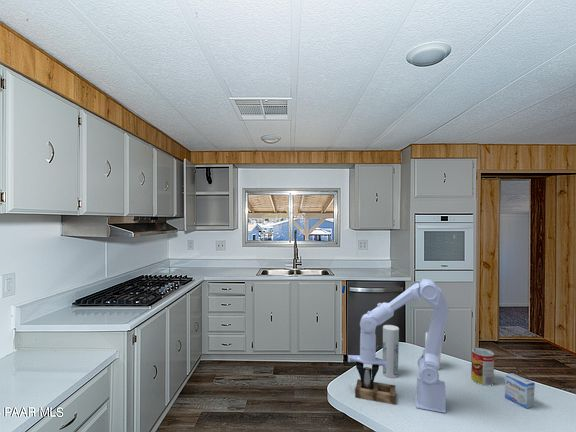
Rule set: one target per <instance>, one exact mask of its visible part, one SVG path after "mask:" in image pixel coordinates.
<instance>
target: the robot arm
mask: <svg viewBox="0 0 576 432" xmlns="http://www.w3.org/2000/svg"><path fill="white" fill-rule="evenodd" d="M421 298H422V299H423V300H424V301H426V302H427V303H429V305H430V306H431V307H432V313H431V318H430V321H429V326H428V327H429V328H428V331H427V332H428V336H427V340H426V345H424V349H423V350H422V355H421V356H420V357H419V358H418V361H417V367H418V370H419V373H418V374H416V395H414V400H415V408H416V409H422V410H427V411H432V412H438V413H445V414H446V411H447V410H446V409H447V407H446V404H447V398H446V397H447V390H446V388H447V387H446V382H445V381H443V380H441V379H440V373H439V370H438V357H439V352H440V347H441V343H442V344H443V337H444V333H445V329H446V323H447V321H448V320H447V319H448V314H449V309H450V307H449V304H448V302H447V300H446V297H445V296H444V293H443V292H442V290H441V288H440V286H439V285H437V284H436V282H435V281H434V280H433V279H430V278H422V279H421V280H420V281H419V282H416V283H414V284H413V285H411V286H410V287H408V288H406V289H405V290H404V291H403V292H401V293H400V294H399V295H397V296H396V297H395V298H394V299H392V300H391V301H390V302H378V303H377V306H376V307H375V308H374V309H372V310H368V311H367V312H366V313H365V314H363V315H362V316H361V318H360V321H359V327H360V334H359V336H360V337H359V354H358V355H357V354H356V355H353V354H348V356H347V362H348V363H355V367H356V369H357V372H358V375H359V378H360V380H361V383H362V384H363V368H364V365H365V364H366V365H371V369H372V373H371V385H373V382H375V378H376V375H377V373H378V371H379V370H380V369H379V368H380V367H383V366H384V367H386V368H388V360H383V358H379V357H376V356H377V355H376V352H377V350H376V348H377V346H376V345H377V344H376V343H377V335H376V328H377V327H378V326H380V325H382V324H383V323H385V322H387V320H390V318H392V317H394V313H395V311H396V310H398V309H400V308H401V307H403V306H405V305H406V304H408V303H409V302H411V301H413V300H415V301H422V299H421Z"/></svg>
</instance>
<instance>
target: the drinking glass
mask: <svg viewBox="0 0 576 432" xmlns="http://www.w3.org/2000/svg"><path fill="white" fill-rule="evenodd" d="M427 336H428V331H426V332H425V336H424V339H425V340H424V344H425V345H426V340H427ZM425 345H424V346H425ZM442 345H443V342H442V343H441V347H440V352H439V357H438V371H439V370H440V367H441V364H440V363H441V355H442Z"/></svg>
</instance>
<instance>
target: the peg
mask: <svg viewBox="0 0 576 432" xmlns="http://www.w3.org/2000/svg"><path fill="white" fill-rule="evenodd" d="M371 379H372V367H368V366H365V367H364V366H363V388H365V389H371Z"/></svg>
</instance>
